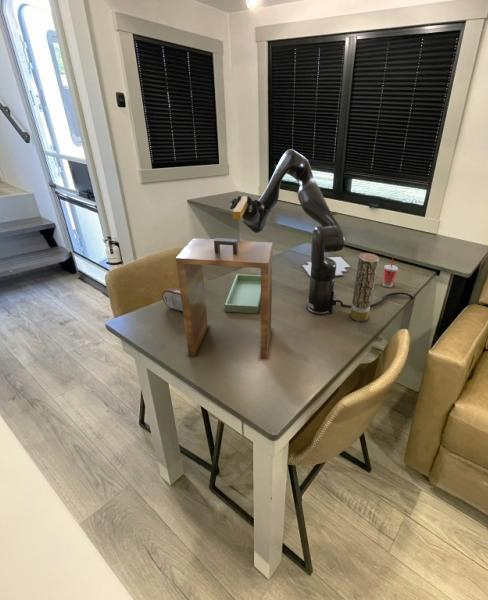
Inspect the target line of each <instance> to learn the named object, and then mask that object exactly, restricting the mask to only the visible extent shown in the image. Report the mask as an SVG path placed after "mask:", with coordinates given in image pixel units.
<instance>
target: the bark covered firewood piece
mask: <svg viewBox="0 0 488 600" xmlns="http://www.w3.org/2000/svg"><path fill="white" fill-rule="evenodd" d="M379 261H380V257H379V255H377V254H374V253H370V252H363V253H360V254H359V257H358V263H357V268H356V269H357V270H356V274H355V282H354V288H353V295H352V302H351V306H352V307H350V308H351V309H350V314H349V315H350V318H351V319H352V320H354V321H357V322H365V321H366V320H368V318H369V314H370V310H371V309H370V308H371V307H370V305H371V304H372V299H373V293H374V287H375V282H376V277H377V273H378V266H379Z"/></svg>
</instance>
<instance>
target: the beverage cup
mask: <svg viewBox="0 0 488 600" xmlns="http://www.w3.org/2000/svg"><path fill="white" fill-rule="evenodd" d="M394 258H395V257H394V256H392V258H391V263H390V264H385V265H383V266H384V267H383V269H384V270H383V277H382V286H383V287H386V288H392V287H393V286H394V283H395V278H396V275H397V272H398V270H399V267H398V266H397V265H394Z"/></svg>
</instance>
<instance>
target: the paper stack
mask: <svg viewBox="0 0 488 600" xmlns="http://www.w3.org/2000/svg"><path fill="white" fill-rule="evenodd" d="M328 258H330V259H332V260H334V261H335V262H336V273H335V276H343V275H344V273H343V272H348V270H347V269H346V268H351V265H350V264H349V263H348V262H347V261H346V260H344V259H343V258H342V256H332V257H328ZM306 263H307V264H303V265H302V267H303V269H304V270H305V271H306V274H308V276H309V277H310V276H311V261H307V262H306Z"/></svg>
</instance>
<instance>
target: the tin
mask: <svg viewBox="0 0 488 600" xmlns="http://www.w3.org/2000/svg"><path fill="white" fill-rule="evenodd" d="M161 298H162V300H163V303H164V304H165V305H166V306H167V307H168V308H169V309H172V310H175V311H179V312H182V313H183V309H182V301H181V294H180V288H177V287H173V286H170V287H167V288H166V289H165V290H164V291H162V293H161Z"/></svg>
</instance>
